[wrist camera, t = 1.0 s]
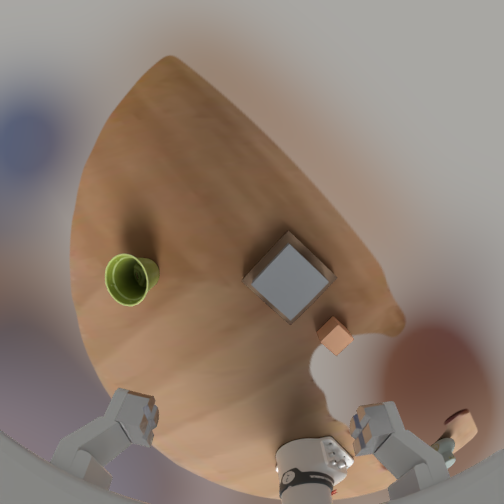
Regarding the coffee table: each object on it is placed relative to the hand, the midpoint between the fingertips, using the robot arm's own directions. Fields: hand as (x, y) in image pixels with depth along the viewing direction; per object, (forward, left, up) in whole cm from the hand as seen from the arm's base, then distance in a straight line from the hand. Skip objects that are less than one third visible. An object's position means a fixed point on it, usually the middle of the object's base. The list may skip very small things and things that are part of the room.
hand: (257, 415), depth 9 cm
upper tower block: (-4, 0, -38) cm, 38 cm away
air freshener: (-79, +7, -41) cm, 89 cm away
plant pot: (+17, +19, -41) cm, 49 cm away
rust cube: (-18, +2, -41) cm, 45 cm away
